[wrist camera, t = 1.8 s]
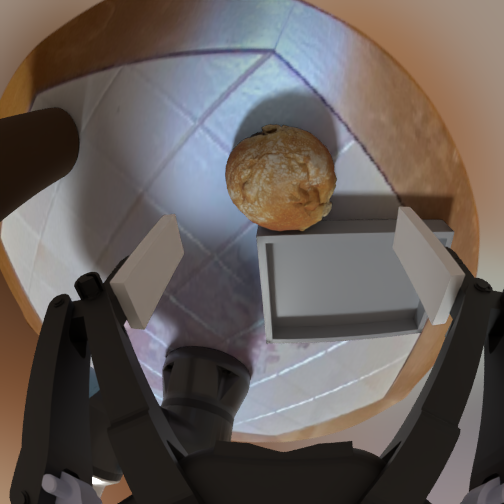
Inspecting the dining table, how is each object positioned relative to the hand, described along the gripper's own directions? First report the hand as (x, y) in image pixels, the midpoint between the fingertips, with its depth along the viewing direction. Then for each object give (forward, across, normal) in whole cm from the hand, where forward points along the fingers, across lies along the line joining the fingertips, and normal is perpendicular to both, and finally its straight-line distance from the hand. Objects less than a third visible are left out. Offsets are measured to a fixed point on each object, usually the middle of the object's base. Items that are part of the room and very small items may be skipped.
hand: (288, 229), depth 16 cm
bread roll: (+13, 0, 0) cm, 13 cm away
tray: (+12, -8, +13) cm, 20 cm away
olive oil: (+13, +27, -8) cm, 31 cm away
